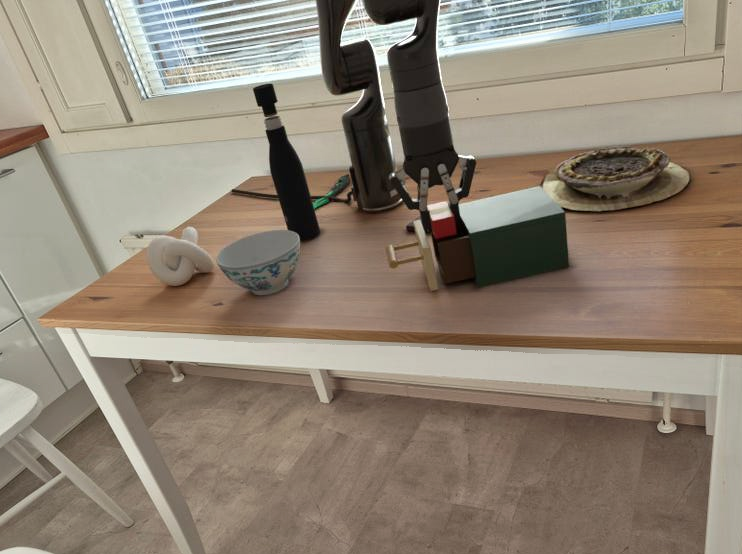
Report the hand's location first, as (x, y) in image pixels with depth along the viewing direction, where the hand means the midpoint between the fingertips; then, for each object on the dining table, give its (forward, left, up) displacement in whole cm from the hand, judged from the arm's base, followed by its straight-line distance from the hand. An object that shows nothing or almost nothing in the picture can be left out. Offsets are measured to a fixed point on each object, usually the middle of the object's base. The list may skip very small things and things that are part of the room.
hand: (442, 227), depth 107 cm
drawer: (0, 0, -7) cm, 7 cm away
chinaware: (-33, -2, -9) cm, 35 cm away
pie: (+23, +37, -9) cm, 44 cm away
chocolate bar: (-4, +22, -8) cm, 24 cm away
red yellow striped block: (0, 0, 0) cm, 0 cm away
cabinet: (+10, +5, -8) cm, 14 cm away
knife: (-42, +46, -8) cm, 63 cm away
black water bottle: (-37, +21, -9) cm, 43 cm away
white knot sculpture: (-55, +4, -9) cm, 56 cm away
